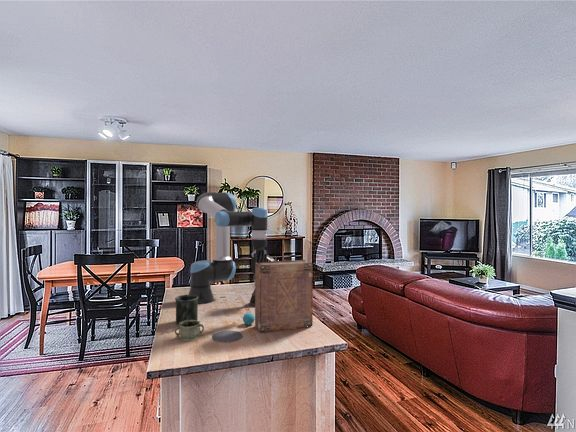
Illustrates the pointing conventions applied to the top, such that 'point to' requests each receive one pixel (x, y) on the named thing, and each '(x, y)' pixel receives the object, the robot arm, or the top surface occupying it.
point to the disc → (227, 336)
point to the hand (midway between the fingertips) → (259, 285)
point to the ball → (248, 318)
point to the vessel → (189, 330)
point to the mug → (186, 308)
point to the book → (283, 295)
